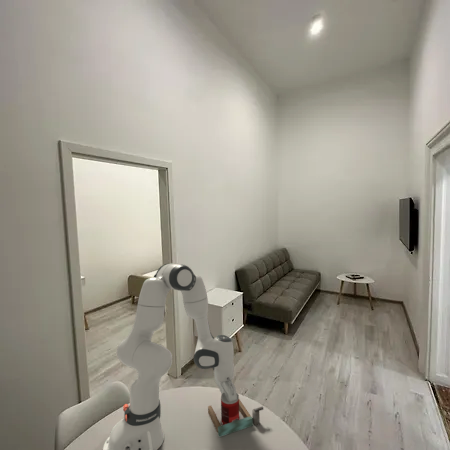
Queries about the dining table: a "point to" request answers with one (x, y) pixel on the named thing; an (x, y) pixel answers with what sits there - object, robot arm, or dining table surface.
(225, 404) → the canned food
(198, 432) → the dining table surface
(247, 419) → the bay
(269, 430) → the dining table surface
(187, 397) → the dining table surface
